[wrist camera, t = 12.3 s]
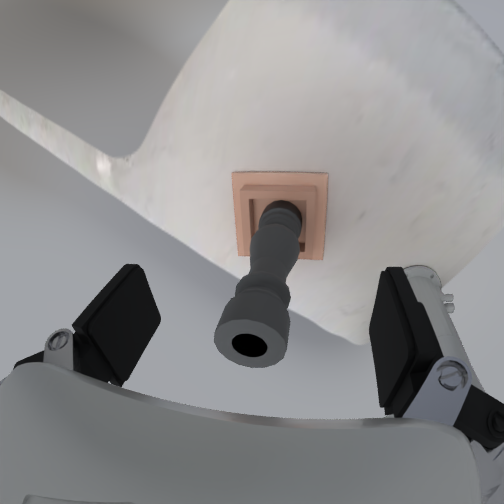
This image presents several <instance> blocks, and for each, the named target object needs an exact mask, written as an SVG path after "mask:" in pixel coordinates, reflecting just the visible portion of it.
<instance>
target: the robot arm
mask: <svg viewBox="0 0 504 504" xmlns="http://www.w3.org/2000/svg"><path fill="white" fill-rule="evenodd" d="M443 301H446V302H447V301H448V302H449V301H453V295H452V294H446V295H444V294H443V293H442V291H441V281H440V279H439V277H438V276H437V274H436V273H435V272H434V271H433V270H432V269H430V268H428V267H424V266H413V267H409V268H406V269H404V270H403V268H402V267H387V268H386V270H385V271H382V272H381V274H380V279H379V285H378V290H377V295H376V299H375V304H374V309H373V313H372V317H371V321H370V326H369V335H370V340H371V346H372V352H373V358H374V365H375V372H376V379H377V387H378V396H379V403H380V407H384V409H385V415H388V416H386V417H384V418H365V419H294V418H278V417H266V416H255V415H246V414H239V413H231V412H224V411H218V410H212V409H206V408H201V407H195V406H190V405H186V404H180V403H176V402H172V401H168V400H164V399H160V398H156V397H152V396H148V395H145V394H141V393H137V392H134V391H131V390H127V389H124V388H121V387H122V385H123V383H124V382H125V381H127V380H128V379H129V377H130V375H131V373H132V371H133V369H134V368H135V366H136V364H137V362H138V361H139V359H140V357H141V355H142V353H143V352H144V350H145V348H146V346H147V345H148V343H149V341H150V340H151V338H152V336H153V334H154V333H155V331H156V329H157V328H158V326H159V324H160V321H161V316H160V313H159V311H158V308H157V306H156V303H155V300H154V298H153V295H152V292H151V290H150V287H149V284H148V281H147V278H146V275H145V273H144V270H143V269H142V268H141V267H140V266H139V265H138V264H126V265H124V266H123V267H122V268H121V269H120V271H119V272H118V273H117V274H116V275H115V276H114V277H113V278H112V279H111V280H110V281H109V282H108V284H107V285H106V286H105V287H104V288H103V289H102V290H101V291H100V292H99V294H98V295H97V296H96V297H95V298H94V300H92V302H91V303H90V304H89V305H88V306H87V307H86V309H85V310H84V311H83V312H82V313H81V315H80V316H79V317H78V318H77V319H76V320H75V322H74V323H73V324H72V327H73V328H74V330H75V333H74V334H73V333H72V332H71V331H70V330H69V329H59V330H57V331H55V332H54V333H52V334H51V335H50V336H49V337H48V339H47V341H46V343H45V350H44V351H42V352H39V353H37V354H34V355H32V356H30V357H27V358H25V359H23V360H20V361H18V362H17V363H16V364H15V366H14V369H13V371H12V372H11V373H10V374H9V375H8V376H7V377H6V378H4V379H3V380H2V381H0V504H504V404H503V403H501V402H499V401H498V400H496V399H495V398H493V397H492V396H490V395H488V394H487V393H486V392H485V390H484V388H483V387H482V385H481V383H480V381H479V379H478V378H477V376H476V374H475V372H474V370H473V368H472V366H471V363H470V361H469V359H468V356H467V354H466V352H465V350H464V347H463V345H462V342H461V340H460V338H459V336H458V334H457V331H456V329H455V327H454V325H453V322H452V320H451V318H450V316H449V314H448V313H453V311H454V304H453V303H446V304H443ZM108 381H110V383H111V384H109V383H108ZM112 384H113V385H112ZM115 385H116V386H115ZM118 386H119V387H118Z"/></svg>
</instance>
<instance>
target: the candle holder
mask: <svg viewBox="0 0 504 504" xmlns="http://www.w3.org/2000/svg"><path fill="white" fill-rule="evenodd" d="M301 229H302V216H301V212H300V211H299V209H298V208H297V206H295V205H294V204H292V203H291V202H289V201H284V200H278V201H273V202H272V203H270V204H268V205H267V206H266V208H265V209H264V211H263V213H262V215H261V217H260V219H259V225H258V230H257V231H256V233H255V234H254V235H253V237H252V239H251V242H250V266H251V269H250V272H249V274H248V275H246V276H244V277H243V278H242V279H241V280H240V282H239V283H238V284H237V286H236V292H235V297H233V298H231V300H230V301H229V302H228V304H227V305H226V306H225V309H224V311H223V313H222V316H221V318H220V321H219V323H218V325H217V328H216V330H215V335H214V343H215V345H216V347H217V349H218V350H219V352H220V353H221V354H223V355H224V356H225V357H226V358H227V359H229V360H231V361H233V362H235V363H237V364H239V365H243V366H247V367H251V368H254V367H255V368H263V367H268V366H271V365H275V364H276V363H278V362H279V361H280V360H282V359H283V358H284V355H285V352H286V350H287V343H288V336H289V328H290V318H289V313H288V311H287V308H288V306H289V302H290V299H291V296H290V292H289V287H288V286H287V285H286V277H287V276H288V274H289V272H290V271H291V269H292V267H293V266H294V264H295V263H296V261H297V259H298V256H299V252H300V246H299V241H298V238H299V237H300V233H301Z"/></svg>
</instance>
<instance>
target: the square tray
mask: <svg viewBox="0 0 504 504" xmlns="http://www.w3.org/2000/svg"><path fill="white" fill-rule="evenodd" d="M327 185H328V174H327V173H312V172H233V173H232V186H233V199H234V211H235V223H236V235H237V247H238V256H250V242H251V239H252V237H253V235H254V234H255V233H256V231H257V230H258V225H259V219H260V217H261V215H262V213H263V211H264V209H265V208H266V206H267V205H268V204H270V203H272V202H273V201H278V200H284V201H289V202H291V203H292V204H294V205H295V206H297V208H298V209H299V211H300V212H301V216H302V229H301V233H300V237H299V238H298V241H299V246H300V252H299V256H298V259H312V260H323V251H324V238H325V224H326V207H327Z"/></svg>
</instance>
